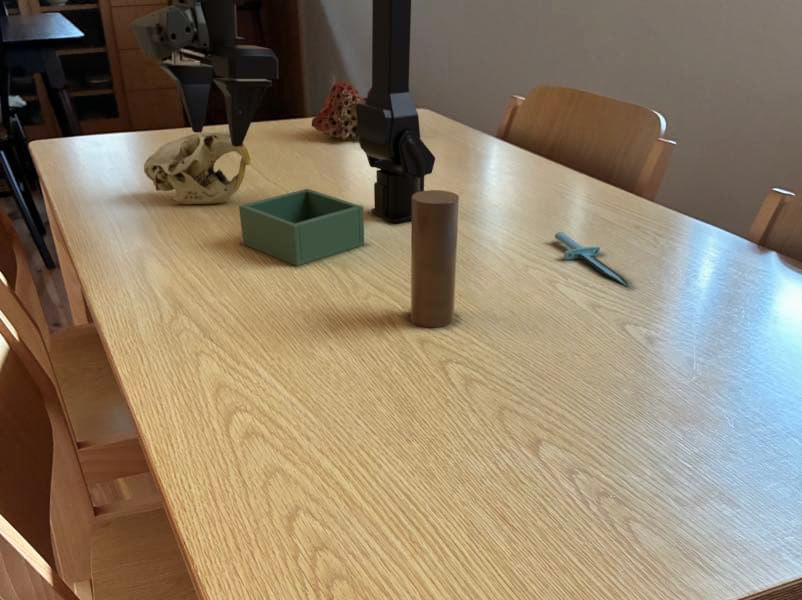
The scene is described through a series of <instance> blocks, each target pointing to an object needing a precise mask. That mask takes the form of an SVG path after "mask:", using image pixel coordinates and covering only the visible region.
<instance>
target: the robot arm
mask: <svg viewBox="0 0 802 600" xmlns="http://www.w3.org/2000/svg"><path fill="white" fill-rule="evenodd" d="M244 2H245V1H244V0H172V4H171V5H169V6H166V7H164V8H160V9H158V10H154V11H153V12H149V13H148V14H146V15H143V16H141V17H139V18H137V19H134V20H133V21H132V22H131V23H130V25H131V27H132V30H133V32H134V35H135V37H136V40H137V42H138V45H139V48H140V50H141V53H142V55H143V56H144V57H148V56H150V57H151V59H153V60H158V61H161V62H157V65H158V66H159V68H160V69H162V70H163V71H164V72H165V73H166V74H168V76H170V78H171V79H172V80H173V81H174V82H175V85H176V87H177V90H178V92H179V96H180V98H181V101H182V104H183V107H184V110H185V113H186V116H187V119H188V121H189V125H190V127H191V130H192V132H193V133H194V134H196V133H200V132H203V129H204V124H205V121H206V114H207V109H208V103H209V96H210V91H211V85H212V81H213V82H214V84H215V86H217V87H218V89H219V90H220V91H221V92H222V94H223V96H224V102H225V110H226V117H227V123H228V124H227V125H228V130H229V133H230V138H231V143H232V146H234V147H239V146H242V144H244V141H245V139H246V136H247V133H248V131H249V128H250V127H251V124H252V121H253V119H254V116H255V114H256V112H257V110H258V108H259V105H260V103H261V101H262V100H263V98H264V95H265V93H266V91H267V89H268V88H270V87H272V85H273V80H278V79H279V78H280V76H279V58H278V57H277V55H276V54H275V52H274V51H273V49H272V48H267V47H263V46H258V45H248V44H246V38H245V37H240V36H238V21H237V6H238V5H239V6H244V4H245V3H244ZM371 2H372V4H371V5H372V7H371V8H372V9H371V11H372V12H371V13H372V15H371V16H372V19H371V21H372V23H371V24H372V25H371V28H372V29H371V34H372V35H371V48H372V49H371V87H372V89H371V88H370V89H371V92H370V94H369V96H368V98H367V97H366V98H367V101H366V103H365V104H362V103H358V104H357V106H356V115H357V129H356V133H355V136H358V141H359V146H360V149H361V150H362V151H363V153H365V155H366V158H367V161H368V166H369V167H370V168H376V169H377V170H376V182H374V184H373V193H374V194H373V198H374V199H373V201H374V202H373V203H374V207H373V208H371V213H372V214H375V215H376V216H378V217H380V218H382V219H384V220H386V221H388V222H390V223H392V224H396V223H402V222H407V221H412V195H413V194H415V193H417V192H421V191H425V176H427V175H431V174H432V173H433V170H434V166H435V163H436V156H435V155H434V154H433V153H432V152H431V150H430V149H429V147H427V145H426V144H425V143H424V142H423V141H422V139H421V130H420V118H419V117H420V116H419V113H418V110H417V108H416V105H415V102H414V100H413V97H412V98H411V96H412V95H411V93H410V63H411V62H410V60H411V59H410V58H411V56H410V55H411V29H412V28H411V27H412V25H411V24H412V23H411V21H412V0H372V1H371ZM202 62H203V63H202ZM214 72H215V75H216V76H218V77H213V73H214Z"/></svg>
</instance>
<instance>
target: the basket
mask: <svg viewBox="0 0 802 600" xmlns="http://www.w3.org/2000/svg"><path fill="white" fill-rule="evenodd" d="M238 210H239V211H238V212H239V218H240V220H239V221H240V227H241V236H242V243H243V245H245V246H248V247H249V248H252V249H254V250H257V251H259V252H262V253H264V254H267V255H269V256H271V257H274V258H276V259H279V260H281V261H283V262H286V263H288V264H291V265H293V266H295V267H299V266H301V265H305V264H308V263H311V262H314V261H317V260H321V259H324V258H328V257H331V256H334V255H337V254H340V253H343V252H347V251H349V250H352V249H356V248H358V247H363V246H364V245H365V224H364V220H365V219H364V206H362V205H360V204H357V203H353V202H350V201H347V200H344V199H341V198H338V197H334V196H332V195H330V194H329V195H328V194H325V193H323V192H320V191H316V190H313V189H310V188H304V189H301V190H296V191H293V192H289V193H285V194H284V193H283V194H280V195H277V196H276V195H275V196H273V197H269V198H264V199H261V200H256V201H252V202H249V203H244V204H240V205H238Z"/></svg>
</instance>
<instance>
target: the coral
mask: <svg viewBox="0 0 802 600" xmlns="http://www.w3.org/2000/svg"><path fill="white" fill-rule="evenodd" d="M371 89H372V86H371V87H370V89H369V90H368V91H367V95H366V97H363V98H362V97H360V93H359V91H358V90H357V89H356V88H355V87H354V86H352V85H351V84H349V83H347V82H346V81H344V80H341V81H339V82H337V83H335V84H333V85H332V87H331V89H330V92H329V95H328V96H326V97H327V98H326V100H325V104H324V106H323V107H322V108H321V109H320V111H319V112H318V113H317V115H316V116H315V117H313V118H312V119H311V127H312V128H314V129H316V130H317V131H320V132H322V133H323V134H324V135H326V136H330V137H334V138H336V139H338V138H339V139H342V140H344V141H345V140H346V138H349V139H359V137H358V136H355V133H356V129H357V115H356V106H357V104H358V103H362V104H365V103H366V101H367V98H368V96H369V94H370V92H371ZM411 98H412V99H413V96H412V95H411Z"/></svg>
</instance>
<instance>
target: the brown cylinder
mask: <svg viewBox="0 0 802 600" xmlns="http://www.w3.org/2000/svg"><path fill="white" fill-rule="evenodd" d="M459 206H460V196H459V195H458V194H457V193H455V192H452V191H448V190H442V189H440V190H439V189H429V190H428V189H427V190H424V191H421V192H417V193H415V194H413V195H412V220H411V231H410V233H411V235H410V236H411V242H410V243H411V244H410V245H411V246H410V249H411V250H410V251H411V253H410V264H411V266H410V320H411V322H412V323H413V324H415V325H417V326H419V327H425V328H441V327H446V326H449V325H450V324H452V323H453V322H454V320H455V300H456V299H455V298H456V297H455V296H456V275H457V252H458V230H459V208H460V207H459Z"/></svg>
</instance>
